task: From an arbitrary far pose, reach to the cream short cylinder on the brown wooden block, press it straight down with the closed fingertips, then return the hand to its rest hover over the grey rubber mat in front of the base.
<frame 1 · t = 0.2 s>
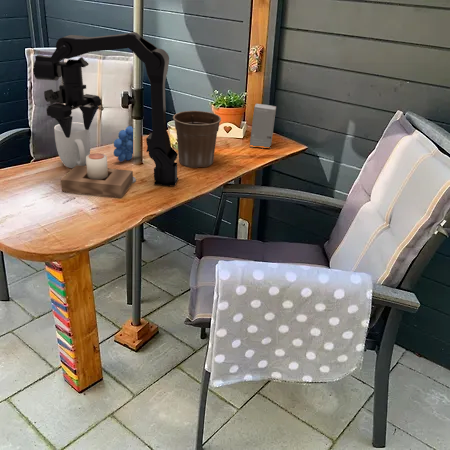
hand: (77, 133, 150), 14 cm above the table, fingers open, 9 cm apart
brown wooden block: (98, 187, 149), on the table
plant pot: (195, 162, 173), on the table
cream short cylinder: (97, 165, 146), point 7 cm above the table, slide at 0.0 cm
grapes: (126, 160, 171), on the table
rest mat: (124, 180, 155), on the table
mug: (76, 166, 163), on the table
skincare box: (261, 146, 192), on the table
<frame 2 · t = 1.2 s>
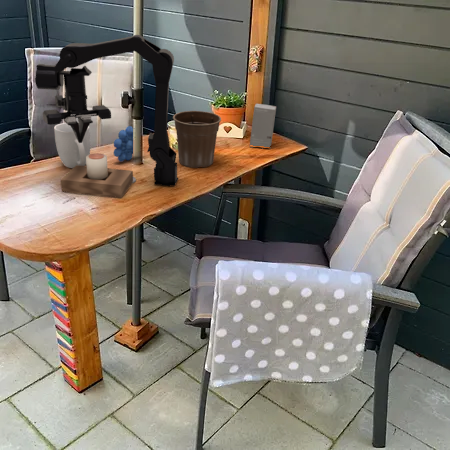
hand: (80, 142, 148), 12 cm above the table, fingers closed
nothing on the table moved.
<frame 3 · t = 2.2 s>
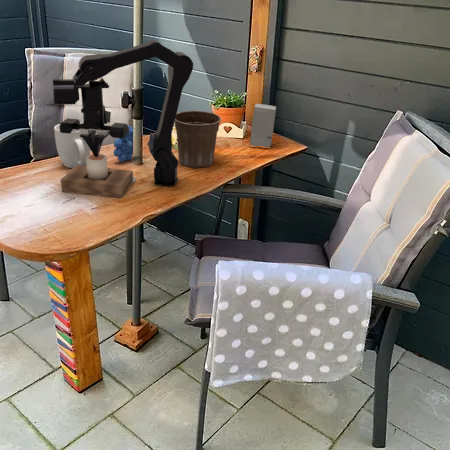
hand: (96, 156, 144), 10 cm above the table, fingers closed, pressing on cream short cylinder
cream short cylinder: (97, 166, 146), point 7 cm above the table, slide at 0.3 cm, touching gripper
everything else where it was.
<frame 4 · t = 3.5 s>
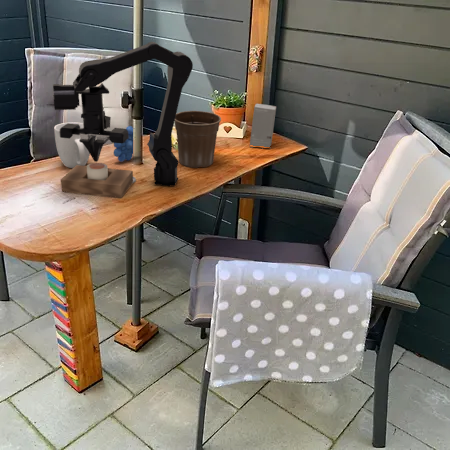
hand: (96, 161, 145), 8 cm above the table, fingers closed
cream short cylinder: (97, 175, 147), point 4 cm above the table, slide at 3.1 cm
everything else where it was.
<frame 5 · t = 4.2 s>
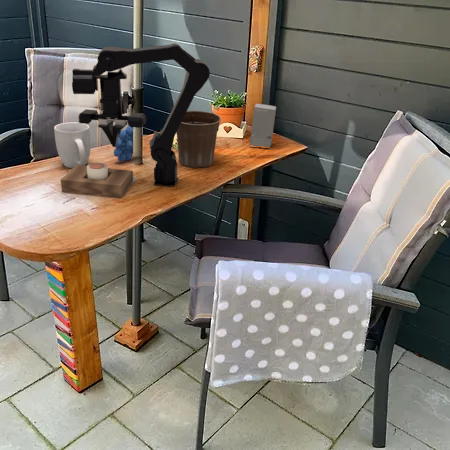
hand: (114, 146, 147), 12 cm above the table, fingers closed
nothing on the table moved.
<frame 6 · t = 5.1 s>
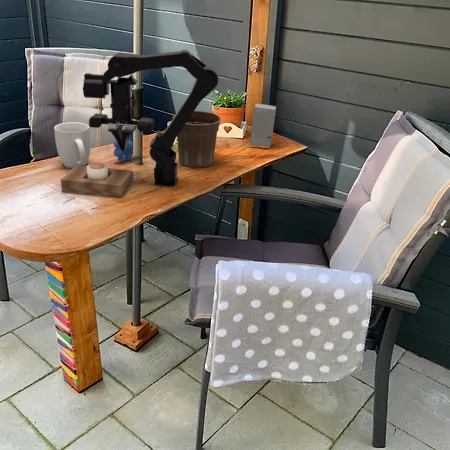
hand: (123, 150, 150), 10 cm above the table, fingers closed
nothing on the table moved.
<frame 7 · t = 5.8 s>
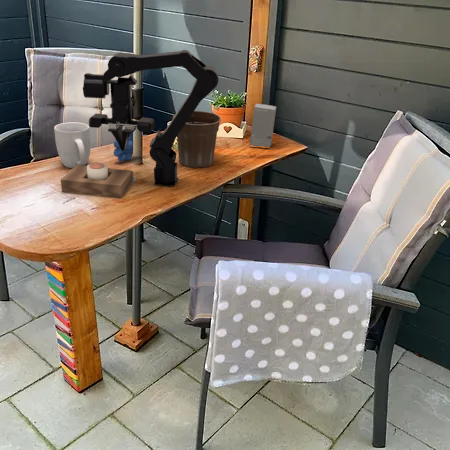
hand: (123, 150, 150), 10 cm above the table, fingers closed
nothing on the table moved.
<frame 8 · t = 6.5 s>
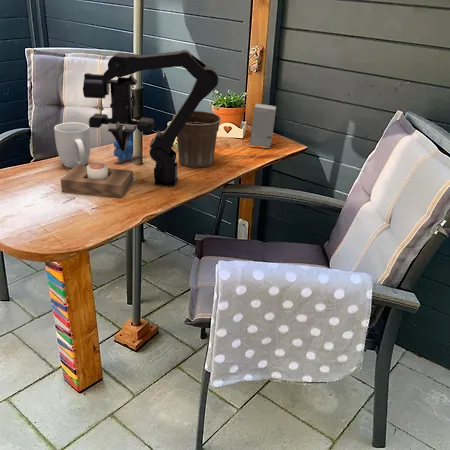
hand: (123, 150, 150), 10 cm above the table, fingers closed
nothing on the table moved.
at the end: cream short cylinder slide at 3.1 cm; the gripper is holding nothing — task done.
